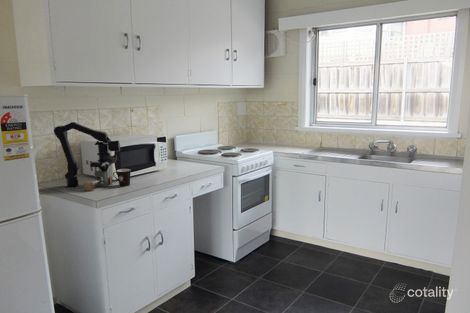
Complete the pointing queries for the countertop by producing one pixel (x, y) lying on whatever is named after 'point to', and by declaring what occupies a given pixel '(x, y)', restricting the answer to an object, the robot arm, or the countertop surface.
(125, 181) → the coffee mug
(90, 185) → the metal shaft
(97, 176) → the collar
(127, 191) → the countertop surface
